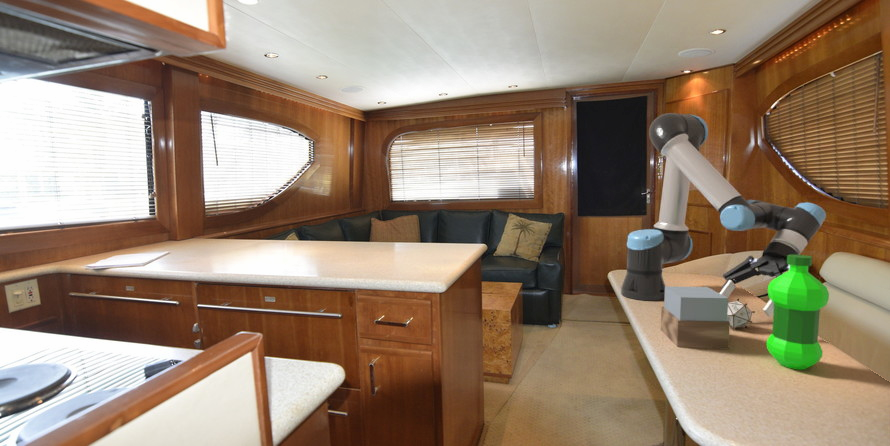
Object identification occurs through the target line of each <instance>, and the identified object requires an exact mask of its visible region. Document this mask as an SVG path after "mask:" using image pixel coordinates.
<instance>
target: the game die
mask: <svg viewBox="0 0 890 446" xmlns="http://www.w3.org/2000/svg"><path fill="white" fill-rule="evenodd" d="M739 300H740V299H739V298H736V300H733V301H728V312H727V321H729V322H730V327H731V328H732V331H735V330H736V329H737V328H743V327H744V328H746V329H748V324H749V323H750V324H753V320H751V319H752V315H753V314H755V313H756V311H755V310H754V311H752V310H751V309H750V308H749V307H748V303H746V302H745V303H742V302H740V301H739Z"/></svg>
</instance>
